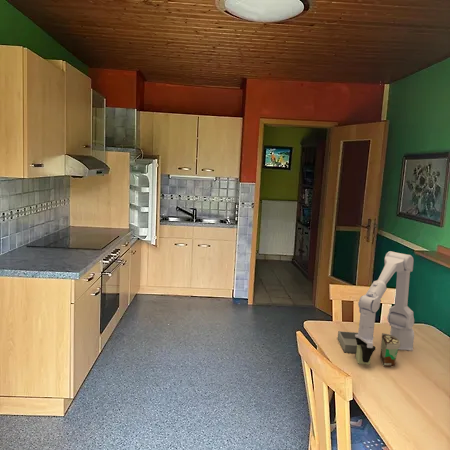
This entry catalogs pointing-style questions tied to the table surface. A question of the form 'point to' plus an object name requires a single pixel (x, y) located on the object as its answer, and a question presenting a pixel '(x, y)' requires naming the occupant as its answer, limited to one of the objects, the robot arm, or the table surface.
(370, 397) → the table surface
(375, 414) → the table surface
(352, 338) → the bin
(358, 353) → the block
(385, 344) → the food container
